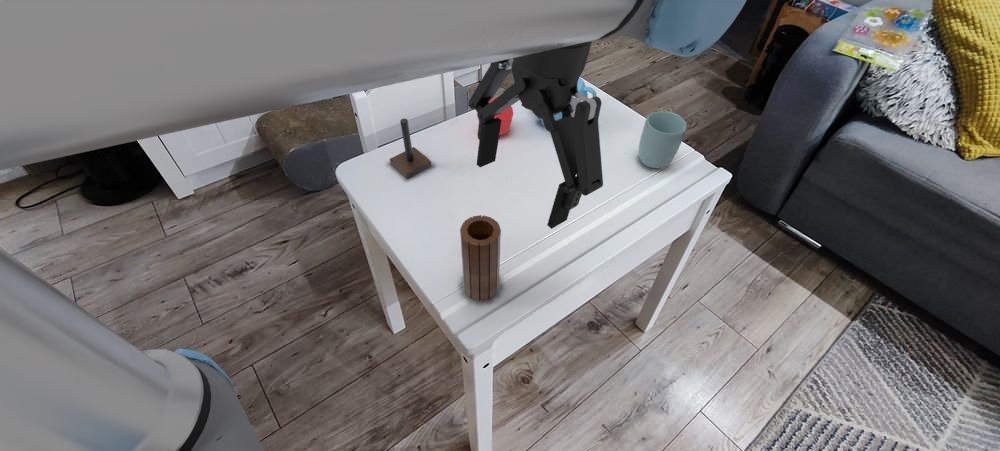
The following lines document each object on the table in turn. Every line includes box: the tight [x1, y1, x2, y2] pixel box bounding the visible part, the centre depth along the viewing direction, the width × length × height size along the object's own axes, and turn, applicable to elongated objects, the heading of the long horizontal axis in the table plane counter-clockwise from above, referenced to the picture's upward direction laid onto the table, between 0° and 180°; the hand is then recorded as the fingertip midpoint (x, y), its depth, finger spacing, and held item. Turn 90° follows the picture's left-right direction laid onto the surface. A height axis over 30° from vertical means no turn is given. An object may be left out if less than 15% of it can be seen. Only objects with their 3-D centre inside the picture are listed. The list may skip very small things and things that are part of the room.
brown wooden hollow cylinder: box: [459, 214, 502, 302], centre depth 69 cm, size 6×6×14 cm
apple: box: [477, 96, 514, 136], centre depth 100 cm, size 8×8×8 cm
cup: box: [637, 110, 687, 169], centre depth 93 cm, size 8×8×10 cm
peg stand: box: [389, 118, 432, 180], centre depth 90 cm, size 6×6×11 cm
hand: (519, 191), depth 59 cm, fingers open, 13 cm apart
